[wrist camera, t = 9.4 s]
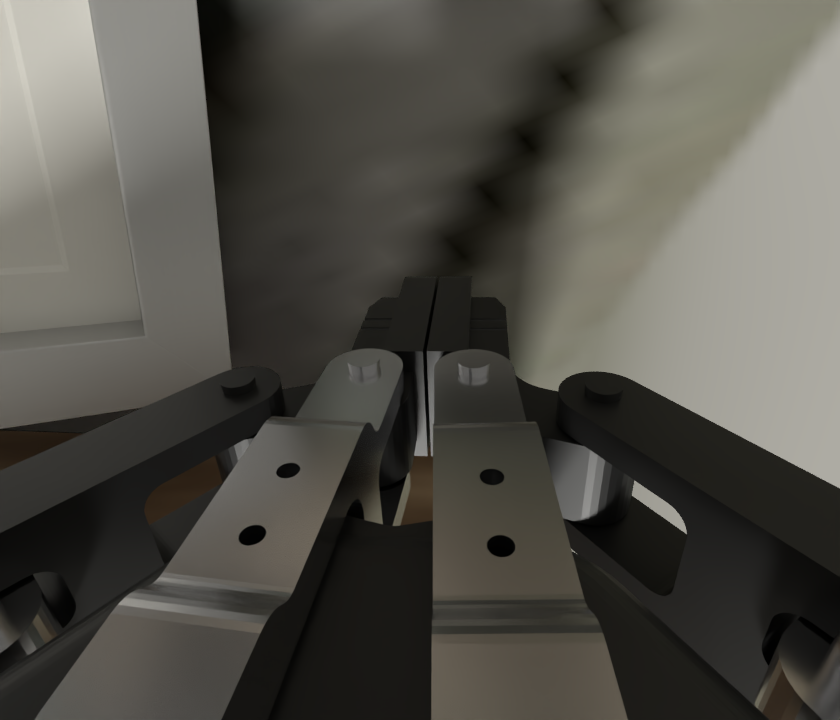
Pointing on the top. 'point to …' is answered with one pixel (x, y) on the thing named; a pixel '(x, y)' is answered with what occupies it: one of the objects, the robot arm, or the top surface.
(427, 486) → the shelf back
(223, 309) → the picture frame
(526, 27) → the top surface
